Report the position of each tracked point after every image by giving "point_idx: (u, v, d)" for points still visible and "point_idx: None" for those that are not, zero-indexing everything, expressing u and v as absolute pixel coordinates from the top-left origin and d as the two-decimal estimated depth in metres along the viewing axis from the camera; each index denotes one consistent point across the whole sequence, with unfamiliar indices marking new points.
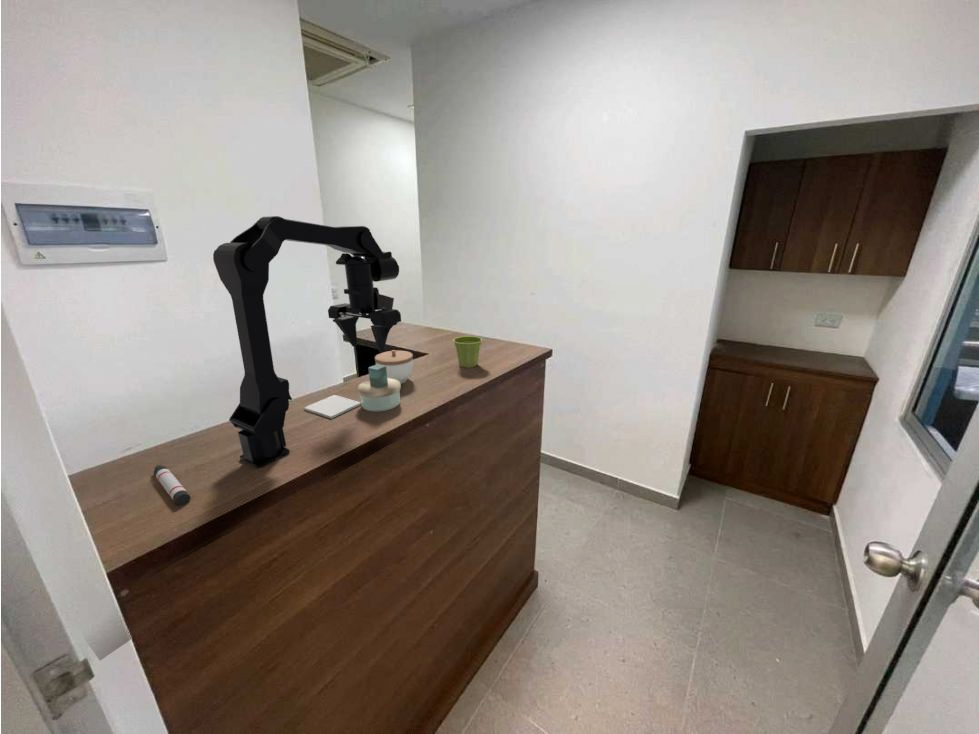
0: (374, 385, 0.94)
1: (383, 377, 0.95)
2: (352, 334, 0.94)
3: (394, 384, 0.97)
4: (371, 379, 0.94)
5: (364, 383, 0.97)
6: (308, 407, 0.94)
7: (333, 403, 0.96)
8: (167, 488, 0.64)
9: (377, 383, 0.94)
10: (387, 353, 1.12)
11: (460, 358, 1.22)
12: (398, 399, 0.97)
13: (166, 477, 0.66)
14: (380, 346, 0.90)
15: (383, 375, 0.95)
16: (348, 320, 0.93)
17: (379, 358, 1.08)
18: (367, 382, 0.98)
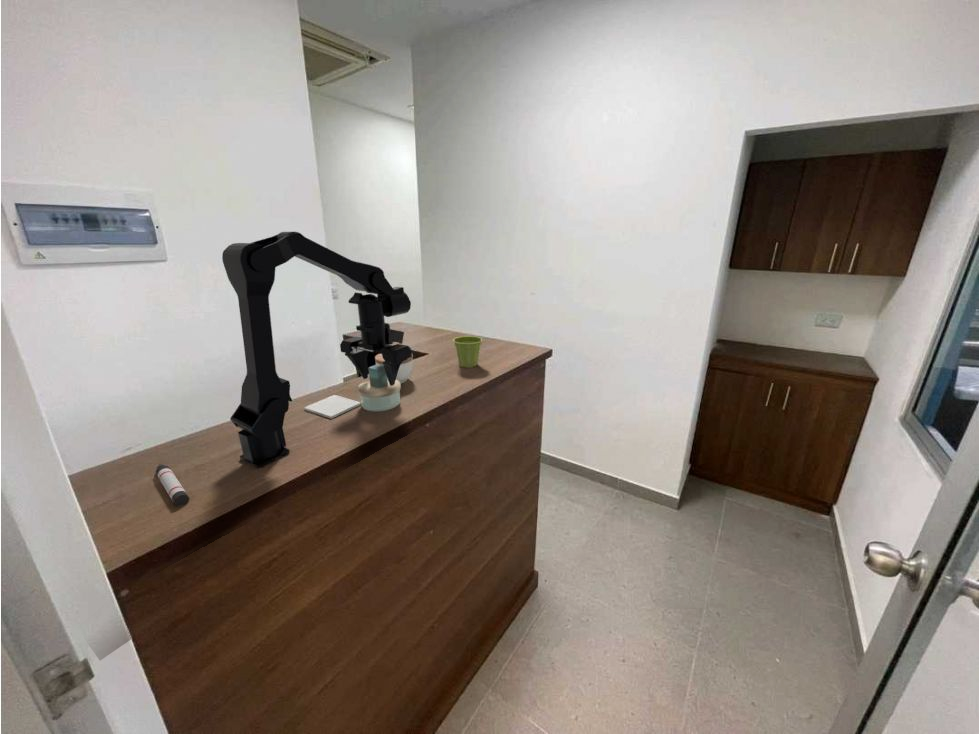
0: (374, 385, 0.94)
1: (383, 377, 0.95)
2: (364, 367, 0.97)
3: (394, 384, 0.97)
4: (371, 379, 0.94)
5: (364, 383, 0.97)
6: (308, 407, 0.94)
7: (333, 403, 0.96)
8: (167, 488, 0.64)
9: (377, 383, 0.94)
10: None
11: (460, 358, 1.22)
12: (398, 399, 0.97)
13: (167, 476, 0.66)
14: (391, 380, 0.92)
15: (383, 375, 0.95)
16: (360, 354, 0.95)
17: (379, 358, 1.08)
18: (367, 382, 0.98)
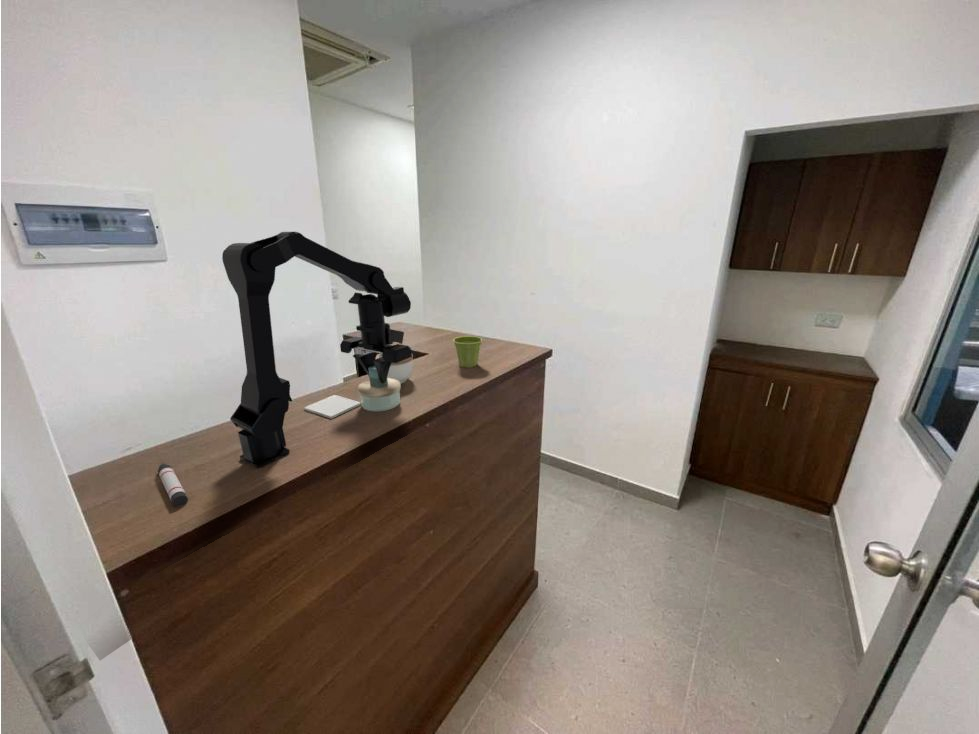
0: (374, 385, 0.94)
1: None
2: None
3: (394, 384, 0.97)
4: (371, 379, 0.94)
5: (364, 383, 0.97)
6: (308, 407, 0.94)
7: (333, 403, 0.96)
8: (167, 488, 0.64)
9: (377, 383, 0.94)
10: None
11: (460, 358, 1.22)
12: (398, 399, 0.97)
13: (168, 476, 0.66)
14: (382, 378, 0.93)
15: None
16: (368, 355, 0.94)
17: None
18: (367, 382, 0.98)
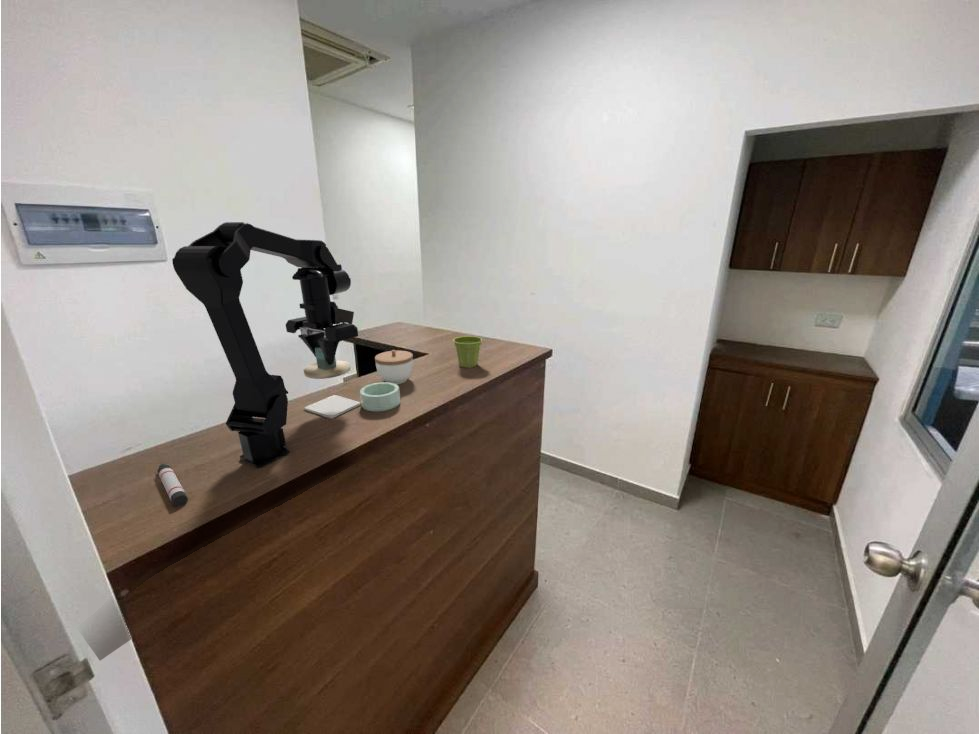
0: (321, 366, 0.91)
1: None
2: None
3: (342, 366, 0.93)
4: (318, 360, 0.91)
5: (312, 365, 0.94)
6: (308, 407, 0.94)
7: (333, 403, 0.96)
8: (167, 488, 0.64)
9: (324, 364, 0.90)
10: (387, 353, 1.12)
11: (460, 358, 1.22)
12: (398, 399, 0.97)
13: (167, 476, 0.66)
14: (329, 359, 0.90)
15: None
16: (314, 336, 0.90)
17: (379, 358, 1.08)
18: (316, 364, 0.94)
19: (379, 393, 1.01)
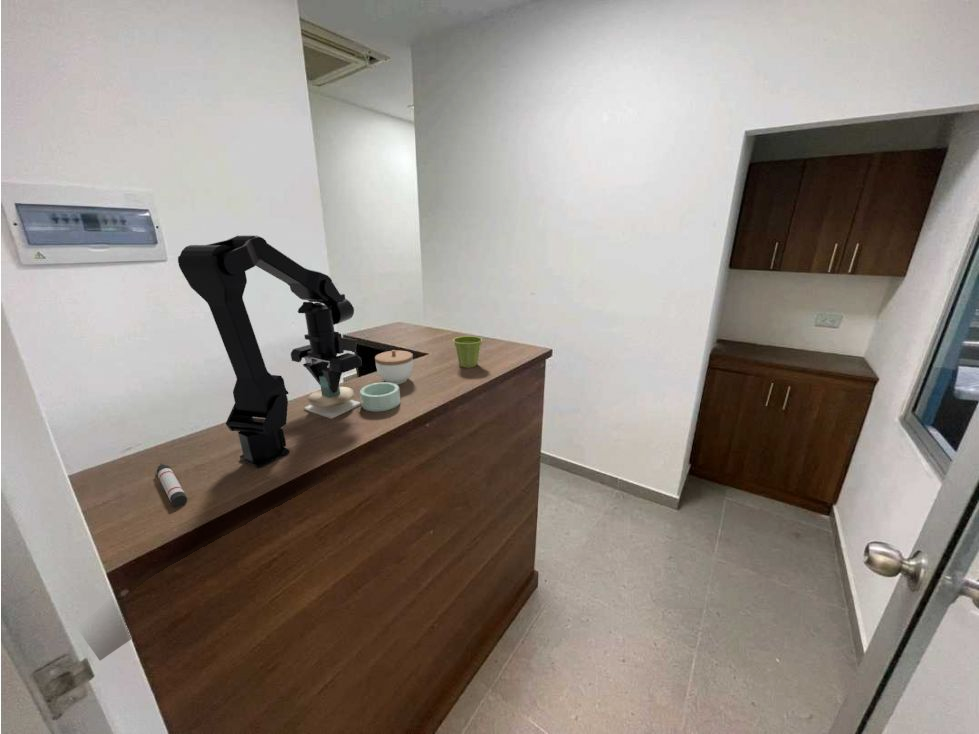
0: (325, 394, 0.93)
1: None
2: None
3: (346, 393, 0.95)
4: (322, 388, 0.93)
5: (316, 392, 0.96)
6: (308, 407, 0.94)
7: None
8: (166, 488, 0.63)
9: (328, 392, 0.92)
10: (387, 353, 1.12)
11: (460, 358, 1.22)
12: (398, 399, 0.97)
13: (167, 476, 0.66)
14: (333, 387, 0.92)
15: None
16: (319, 364, 0.93)
17: (379, 358, 1.08)
18: (320, 391, 0.97)
19: (379, 393, 1.01)
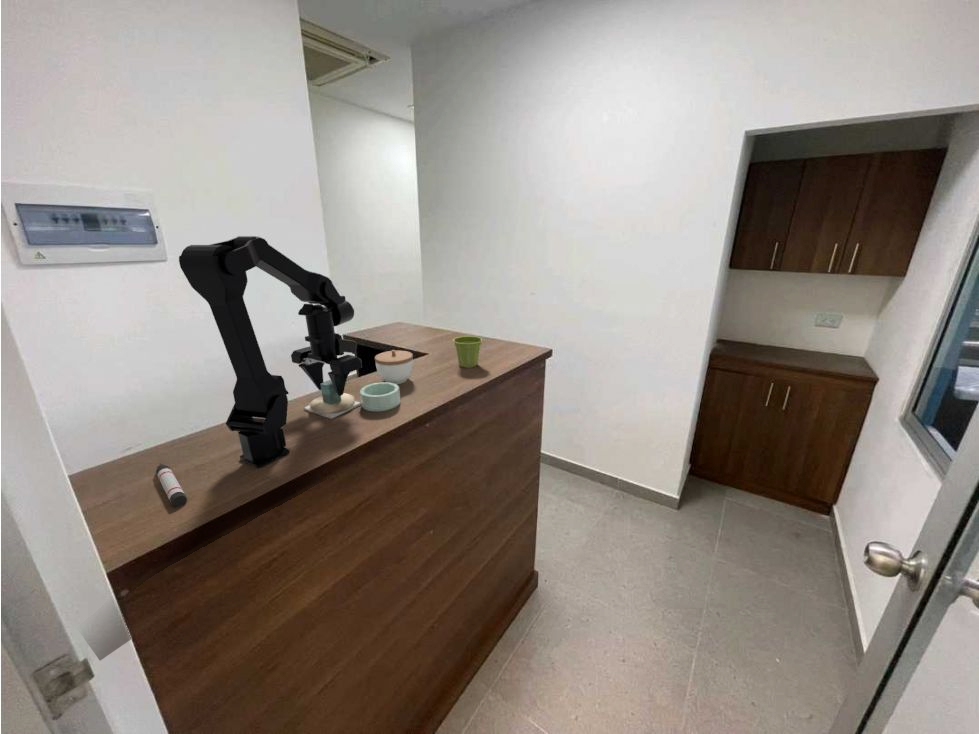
0: (326, 401, 0.94)
1: (336, 393, 0.94)
2: (319, 378, 0.95)
3: (347, 400, 0.96)
4: (323, 395, 0.94)
5: (318, 399, 0.97)
6: (308, 407, 0.94)
7: None
8: (165, 489, 0.63)
9: (329, 399, 0.93)
10: (387, 353, 1.12)
11: (460, 358, 1.22)
12: (398, 399, 0.97)
13: (166, 477, 0.66)
14: (339, 391, 0.91)
15: None
16: (314, 365, 0.94)
17: (379, 358, 1.08)
18: (321, 398, 0.97)
19: (379, 393, 1.01)
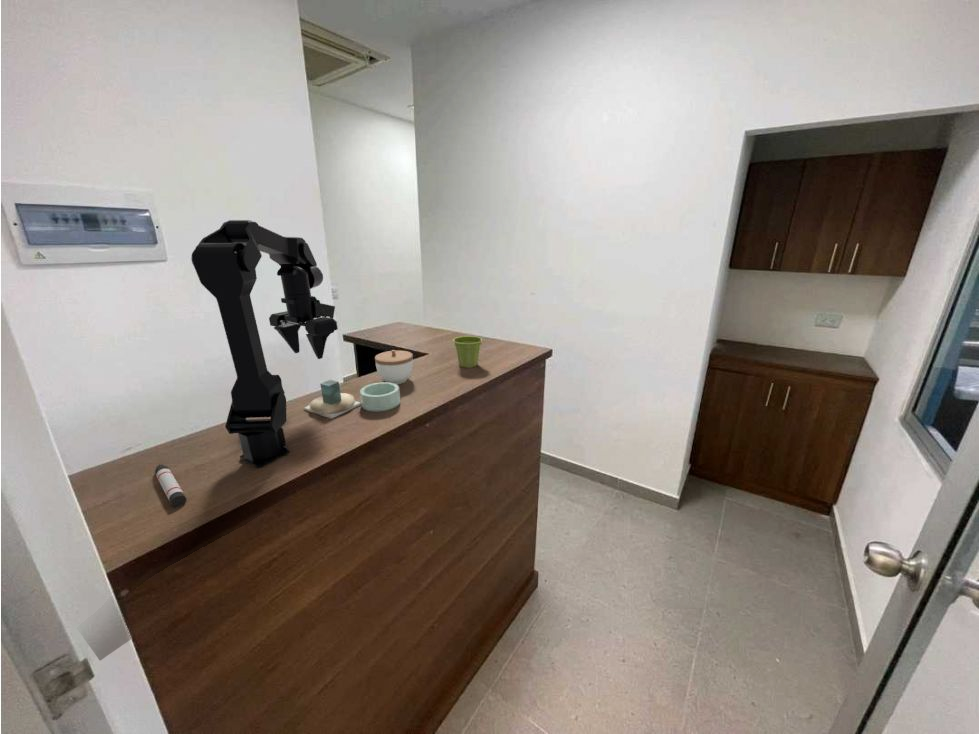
0: (326, 401, 0.94)
1: (336, 393, 0.94)
2: (294, 341, 0.97)
3: (347, 400, 0.96)
4: (323, 395, 0.94)
5: (318, 399, 0.97)
6: (308, 407, 0.94)
7: None
8: (165, 489, 0.63)
9: (329, 399, 0.93)
10: (387, 353, 1.12)
11: (460, 358, 1.22)
12: (398, 399, 0.97)
13: (165, 477, 0.66)
14: (318, 353, 0.92)
15: (336, 391, 0.94)
16: (289, 328, 0.96)
17: (379, 358, 1.08)
18: (321, 398, 0.97)
19: (379, 393, 1.01)
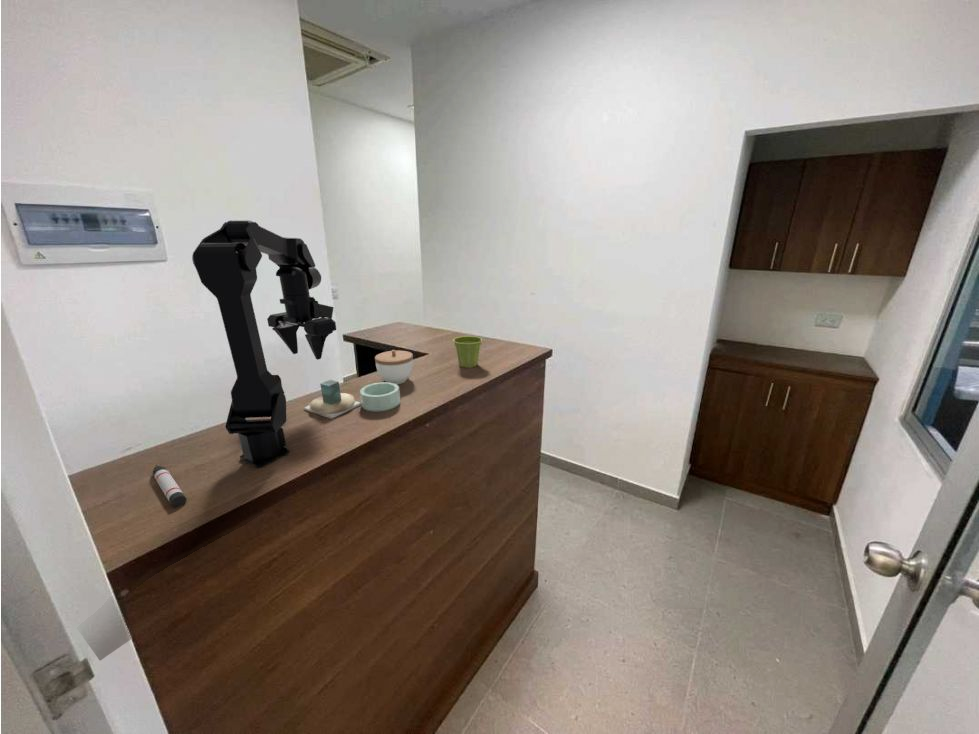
0: (326, 401, 0.94)
1: (336, 393, 0.94)
2: (293, 342, 0.97)
3: (347, 400, 0.96)
4: (323, 395, 0.94)
5: (318, 399, 0.97)
6: (308, 407, 0.94)
7: None
8: (164, 489, 0.63)
9: (329, 399, 0.93)
10: (387, 353, 1.12)
11: (460, 358, 1.22)
12: (398, 399, 0.97)
13: (164, 478, 0.66)
14: (316, 354, 0.92)
15: (336, 391, 0.94)
16: (288, 328, 0.96)
17: (379, 357, 1.08)
18: (321, 398, 0.97)
19: (379, 393, 1.01)
